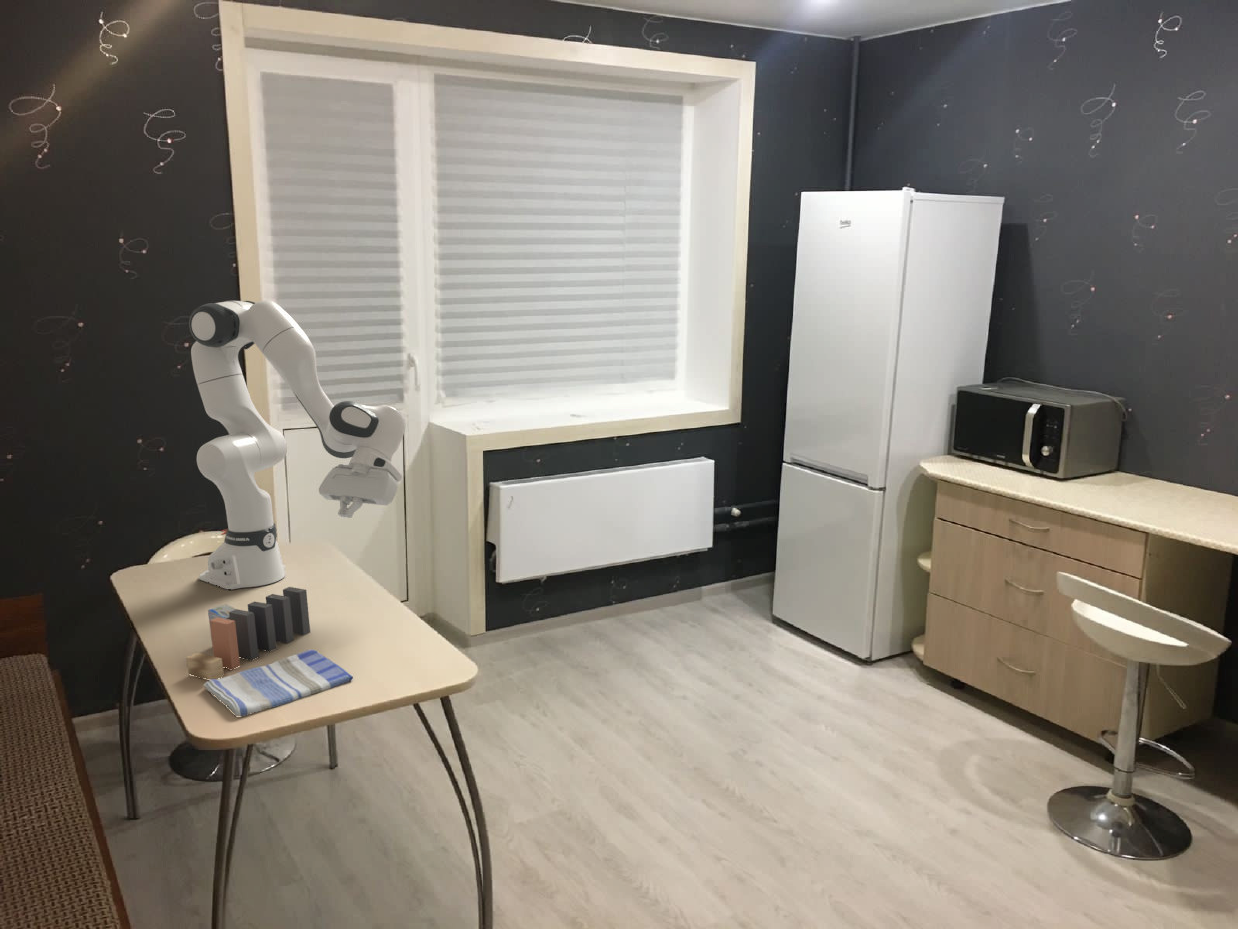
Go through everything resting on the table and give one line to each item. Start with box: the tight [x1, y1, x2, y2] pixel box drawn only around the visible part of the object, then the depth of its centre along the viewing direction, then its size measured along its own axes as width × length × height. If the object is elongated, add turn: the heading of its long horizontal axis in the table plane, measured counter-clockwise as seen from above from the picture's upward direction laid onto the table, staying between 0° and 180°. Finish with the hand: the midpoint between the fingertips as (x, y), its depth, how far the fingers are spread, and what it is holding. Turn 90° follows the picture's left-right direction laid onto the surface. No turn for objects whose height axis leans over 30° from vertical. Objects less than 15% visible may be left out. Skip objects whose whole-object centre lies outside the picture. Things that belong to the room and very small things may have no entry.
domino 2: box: [229, 608, 260, 662], centre depth 202 cm, size 5×2×10 cm, turn 64°
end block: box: [186, 652, 225, 679], centre depth 193 cm, size 7×2×4 cm, turn 64°
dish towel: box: [202, 649, 354, 716], centre depth 189 cm, size 17×24×3 cm
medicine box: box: [207, 604, 237, 640], centre depth 207 cm, size 8×4×9 cm, turn 47°
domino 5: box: [282, 586, 311, 636], centre depth 215 cm, size 5×2×10 cm, turn 64°
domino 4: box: [265, 593, 295, 644], centre depth 210 cm, size 5×2×10 cm, turn 64°
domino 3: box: [247, 601, 277, 653], centre depth 206 cm, size 5×2×10 cm, turn 64°
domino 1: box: [209, 617, 241, 670], centre depth 197 cm, size 5×2×10 cm, turn 64°
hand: (344, 516), depth 226 cm, fingers closed
